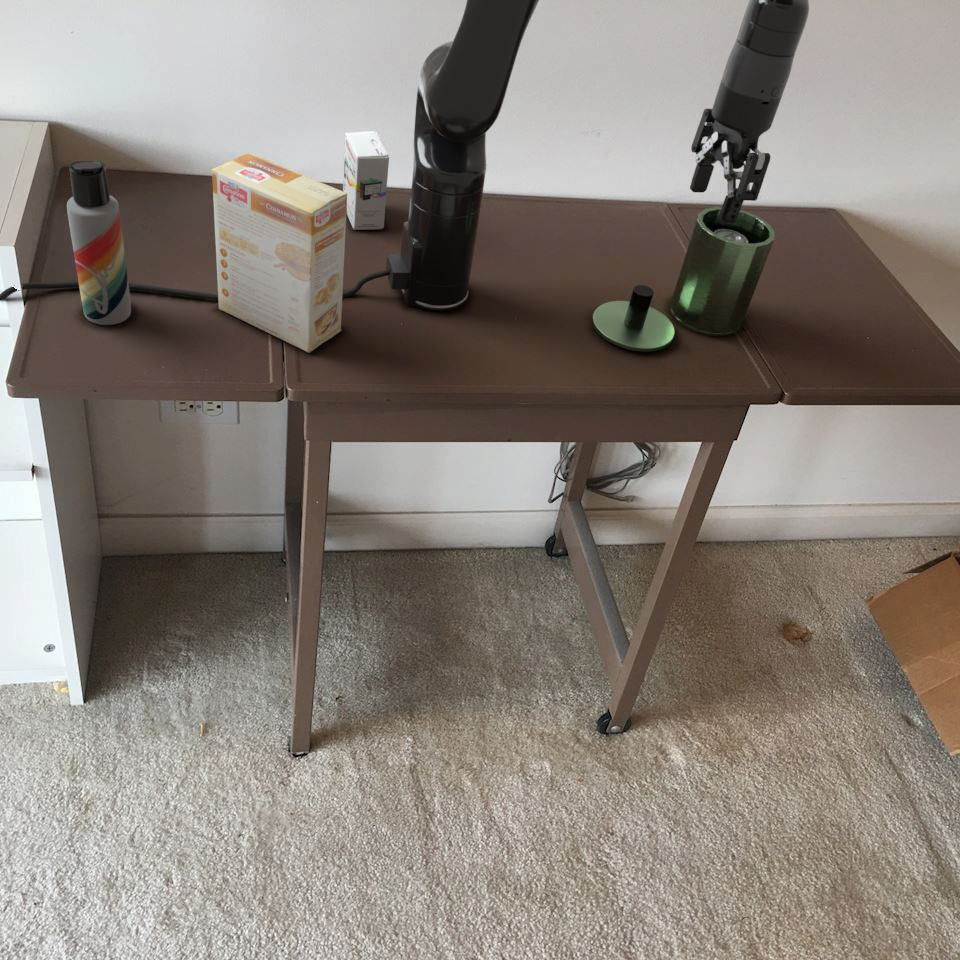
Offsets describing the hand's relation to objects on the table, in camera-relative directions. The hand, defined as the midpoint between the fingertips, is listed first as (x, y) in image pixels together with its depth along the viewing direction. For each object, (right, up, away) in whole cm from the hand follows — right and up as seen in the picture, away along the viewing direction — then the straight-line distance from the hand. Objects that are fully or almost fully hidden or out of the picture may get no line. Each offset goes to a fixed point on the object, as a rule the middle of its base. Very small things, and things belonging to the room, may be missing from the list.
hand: (711, 206), depth 129 cm
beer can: (+2, -12, +14) cm, 18 cm away
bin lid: (-9, -15, +8) cm, 19 cm away
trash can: (+2, -12, +14) cm, 19 cm away
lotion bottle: (-77, -15, -5) cm, 79 cm away
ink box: (-49, +4, +22) cm, 53 cm away
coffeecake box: (-57, -15, -1) cm, 59 cm away
